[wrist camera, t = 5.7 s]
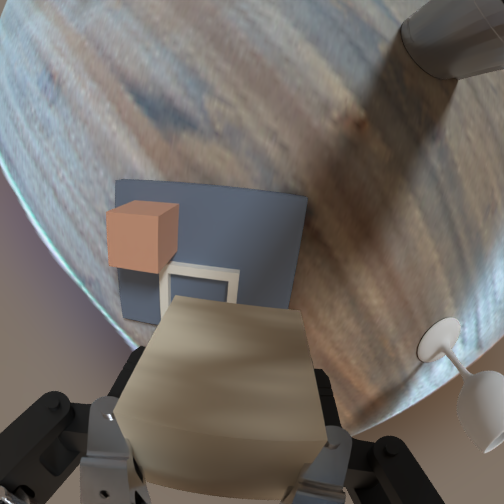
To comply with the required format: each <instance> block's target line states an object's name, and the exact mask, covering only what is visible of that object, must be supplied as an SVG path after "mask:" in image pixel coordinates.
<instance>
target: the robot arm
mask: <svg viewBox="0 0 504 504" xmlns="http://www.w3.org/2000/svg"><path fill="white" fill-rule="evenodd" d="M401 35H402V40H403V42H404V45H405V47H406V49H407V51H408V53H409V54H410V56H411V57H412V59H413V60H414V61H415V62H416V63H417V64H418V65H419V66H420V67H421V68H422V69H423V70H424V71H426V72H427V73H429V74H430V75H432V76H434V77H436V78H439V79H450V78H456V79H458V80H460V79H464V78H468V77H472V76H476V75H480V74H484V73H488V72H493V71H497V70H502V69H504V0H430V1H429V2H428V3H426V4H425V5H424V6H422V7H421V8H420V9H419V10H417V11H416V12H415V13H414V14H412V15H411V16H410V17H409V18H407V19H406V20H405V21H404V22H403V25H402V27H401ZM145 348H146V347H143V346H140V347H139V348H137V349H136V350H135V351H133V352H132V353H131V355H130V357H129V359H128V360H127V363H126V364H125V365H124V367H123V370H122V371H121V372H120V374H119V376H118V378H117V379H116V381H115V383H114V385H113V387H112V388H111V390H110V392H109V394H108V395H107V396H105V397H101V398H98V399H97V400H95V401H94V402H93V403H92V404H80V403H70V401H69V399H68V397H67V396H66V395H65V394H63V393H61V392H58V391H51V392H48V393H45V394H44V395H43V396H42V397H40V398H39V399H38V400H37V401H36V402H35V403H33V404H32V406H30V407H29V408H28V409H27V410H26V411H25V412H24V413H22V414H21V415H20V416H19V417H18V418H17V419H16V420H15V421H13V422H12V423H11V424H10V425H9V426H8V427H7V428H6V429H5V430H4V431H3V432H2V433H0V504H45V503H46V502H47V501H48V500H49V499H50V497H51V496H52V495H53V494H54V493H55V492H56V490H57V489H58V488H59V487H60V486H61V485H62V484H63V482H64V481H65V480H66V479H67V478H68V477H69V475H70V474H71V473H72V472H73V471H74V470H75V468H76V467H77V466H78V465H79V464H80V499H81V504H151V499H150V496H149V493H148V490H147V486H146V480H145V473H144V470H143V468H142V466H139V465H138V464H137V463H136V461H135V459H134V457H133V454H132V446H131V443H130V441H129V439H127V438H124V436H123V434H122V432H121V430H120V427H119V425H118V423H117V420H116V418H115V415H114V413H113V410H114V408H115V406H116V404H117V402H118V400H119V398H120V396H121V394H122V392H123V390H124V388H125V386H126V384H127V382H128V380H129V378H130V377H131V375H132V373H133V371H134V369H135V367H136V365H137V363H138V361H139V359H140V358H141V356H142V354H143V352H144V350H145ZM311 359H312V358H311ZM312 364H313V362H312ZM313 369H314V367H313ZM314 373H315V378H316V383H317V388H318V393H319V398H320V402H321V408H322V413H323V418H324V423H325V428H326V434H327V439H328V441H327V442H326V444H325V445H324V447H323V448H322V450H321V451H320V453H319V454H318V456H317V457H316V458H315V460H314V461H313V463H304V465H303V466H302V468H301V469H300V472H299V474H298V477H297V480H296V482H295V485H294V486H288V487H287V489H286V490H285V492H284V495H283V497H282V499H281V502H280V504H344V503H345V498H346V495H345V492H343V490H342V489H343V487H346V489H347V491H348V493H349V495H350V497H351V499H352V501H353V503H354V504H445V503H444V501H443V500H442V498H441V497H440V495H439V494H438V492H437V491H436V489H435V488H434V486H433V485H432V483H431V482H430V480H429V479H428V477H427V476H426V474H425V473H424V471H423V470H422V468H421V467H420V465H419V464H418V462H417V461H416V459H415V458H414V456H413V455H412V453H411V452H410V450H409V449H408V448H407V446H406V445H405V443H404V442H403V441H402V440H401V439H399V438H397V437H394V436H384V437H382V438H380V439H378V440H377V441H376V443H374V442H368V441H361V440H357V439H354V438H352V437H351V436H350V434H349V433H348V432H347V431H346V430H344V429H343V428H342V427H341V424H340V420H339V416H338V411H337V407H336V403H335V399H334V397H333V391H332V389H331V384H330V380H329V377H328V376H327V375H326V373H325V372H324V371H323V370H322V369H314Z"/></svg>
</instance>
